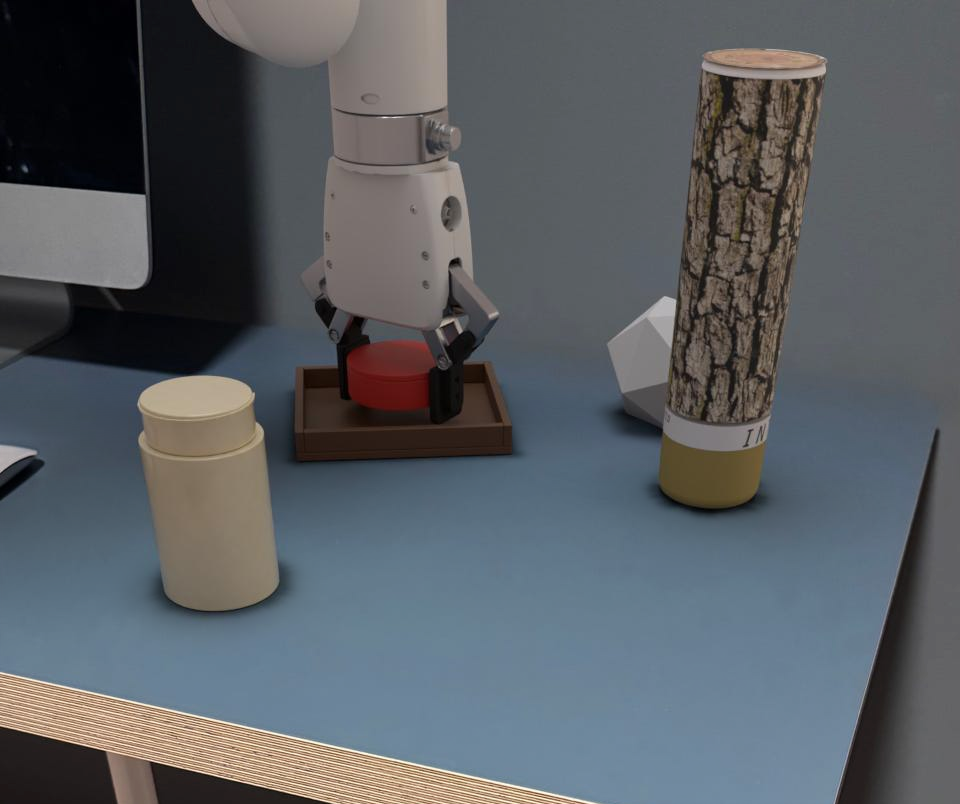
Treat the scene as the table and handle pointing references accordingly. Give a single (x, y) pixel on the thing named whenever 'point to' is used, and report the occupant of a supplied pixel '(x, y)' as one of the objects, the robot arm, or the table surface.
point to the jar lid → (390, 375)
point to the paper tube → (737, 268)
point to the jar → (208, 492)
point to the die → (645, 361)
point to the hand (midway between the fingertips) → (400, 405)
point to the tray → (397, 421)
